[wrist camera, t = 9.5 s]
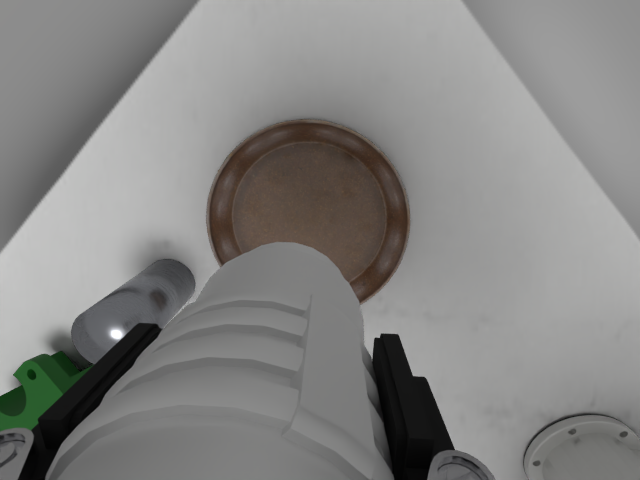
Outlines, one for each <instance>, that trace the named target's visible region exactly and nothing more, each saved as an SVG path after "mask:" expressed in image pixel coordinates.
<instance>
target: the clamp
mask: <svg viewBox="0 0 640 480" xmlns="http://www.w3.org/2000/svg"><path fill="white" fill-rule="evenodd" d="M94 365H95V364H94ZM92 366H93V365H92ZM92 366H90V367H88V368H87V369H85V370H83V371H81V372H80V371H79V370H78V369H77V368H76V367H75V365H74V364H73V363H72V362H71V361H70V360H69V358H68V357H67V356H66V355H65V354H64V353H63V352H62V351H60V352H58V353H55V354H53V355H51V356H50V355H48V354H41V355H39V356H36V357H34V358H32V359H30V360H27V361H25V362H24V363H23V364H22V365H21V366H20V367H19V369H18V370H17V371H16V372H15V373H14V374H13V375H14V376H15V377H16V378H17V379H18V380H19V381H20V383H21V384H22V385H21V386H19V387H17V388H15V389H13V390H11V391H10V392H8V393H6V394H4V395H2V396H0V431H3V430H6V429H12V428H26V429H28V430H32V429H33V428H34V427H35V426H36V425H37V424H38V418H39V417H40V416H41V415H42V414H43V413H44V412H45V411H46V410H47V409H48V408H49V407H51V406H52V405H53V404H54V403H55V402H56V401H57V400H58V399H59V398H60V397H61V396H62V395H63V394H64V393H65V392H66V391H67V390H68V389H69V388H70V387H71V386H73V385H74V384H75V383H76V382H77V381H78V380H79V379H80V378H81V377H82V376H83V375H84V374H85V373H86V372H87V371H88V370H89V369H90V368H91V367H92Z"/></svg>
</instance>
